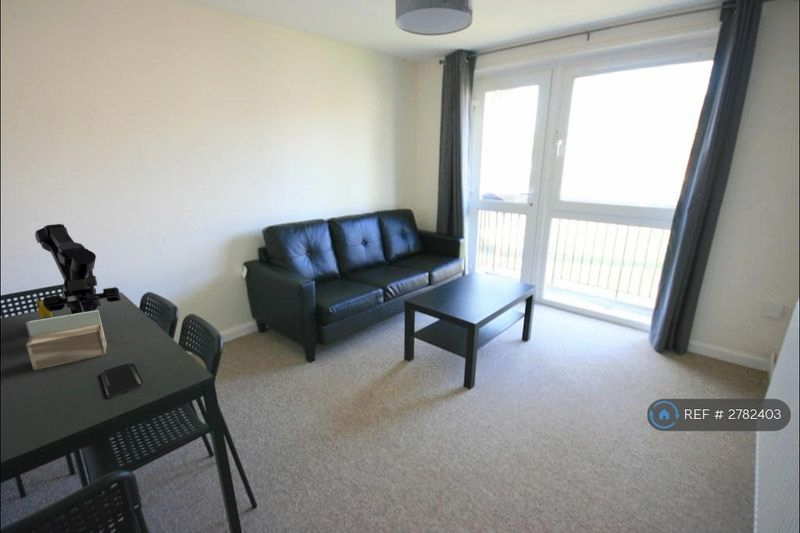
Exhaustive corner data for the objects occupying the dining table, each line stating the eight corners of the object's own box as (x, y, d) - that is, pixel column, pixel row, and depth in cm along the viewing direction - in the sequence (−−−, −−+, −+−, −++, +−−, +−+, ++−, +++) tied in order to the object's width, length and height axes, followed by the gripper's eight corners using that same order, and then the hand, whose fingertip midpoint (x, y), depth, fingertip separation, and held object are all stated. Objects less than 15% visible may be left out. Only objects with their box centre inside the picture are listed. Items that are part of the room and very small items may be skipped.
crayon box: (56, 331, 126) (47, 300, 122) (44, 334, 124) (35, 302, 120) (56, 324, 131) (47, 294, 128) (44, 326, 129) (35, 296, 126)
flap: (36, 358, 109) (25, 321, 105) (106, 344, 118) (98, 309, 114) (35, 360, 108) (24, 323, 105) (106, 345, 117) (98, 311, 114)
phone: (133, 361, 108) (144, 384, 97) (133, 365, 108) (144, 388, 98) (99, 371, 102) (106, 396, 92) (99, 375, 103) (107, 400, 93)
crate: (38, 361, 108) (30, 336, 106) (106, 346, 117) (101, 323, 115) (33, 370, 104) (26, 345, 101) (105, 354, 112) (99, 331, 110)
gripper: (36, 272, 111) (37, 319, 106) (113, 264, 121) (118, 306, 116) (47, 288, 120) (49, 333, 114) (118, 279, 130) (123, 319, 124)
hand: (86, 322), depth 117 cm, fingers closed
